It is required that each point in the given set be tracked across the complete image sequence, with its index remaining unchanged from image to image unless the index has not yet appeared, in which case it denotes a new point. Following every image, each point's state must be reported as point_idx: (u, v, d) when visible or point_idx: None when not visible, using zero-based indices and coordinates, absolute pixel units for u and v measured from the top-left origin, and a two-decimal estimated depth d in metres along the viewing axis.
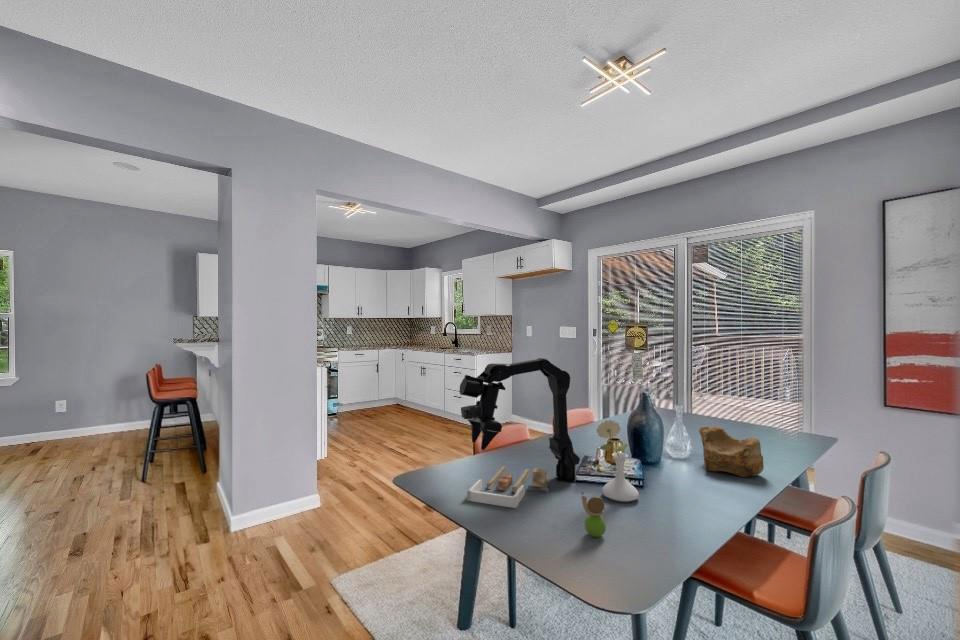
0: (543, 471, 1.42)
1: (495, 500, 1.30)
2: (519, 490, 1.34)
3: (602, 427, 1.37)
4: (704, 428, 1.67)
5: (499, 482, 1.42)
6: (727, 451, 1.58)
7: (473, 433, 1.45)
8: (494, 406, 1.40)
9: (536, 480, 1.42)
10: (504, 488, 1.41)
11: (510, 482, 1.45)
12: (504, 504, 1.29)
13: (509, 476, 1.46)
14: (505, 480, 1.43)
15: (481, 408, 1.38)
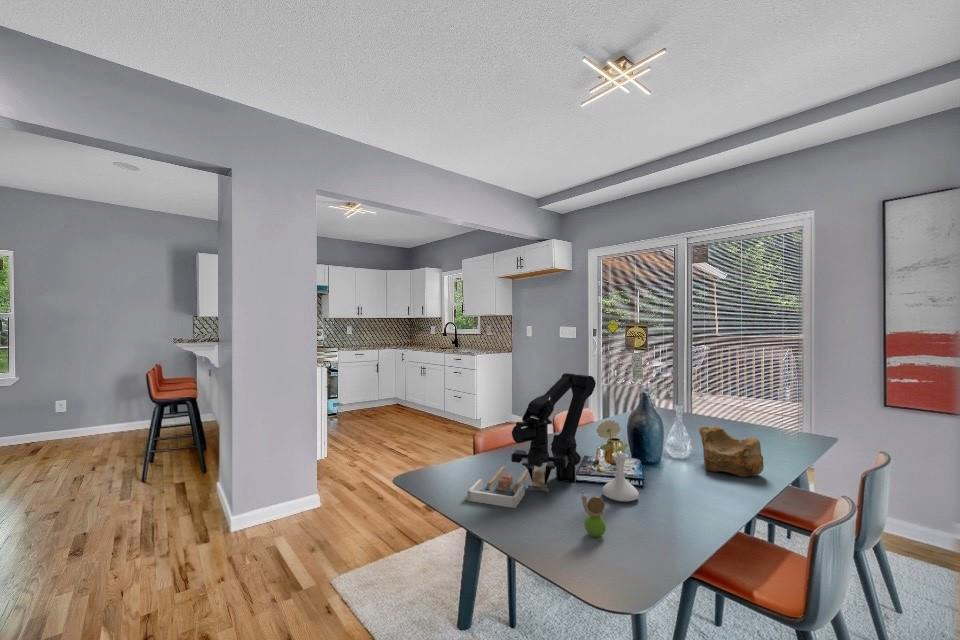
0: (543, 471, 1.42)
1: (495, 500, 1.30)
2: (519, 490, 1.34)
3: (602, 427, 1.37)
4: (704, 428, 1.67)
5: (499, 482, 1.42)
6: (727, 451, 1.58)
7: None
8: None
9: (536, 480, 1.42)
10: (504, 488, 1.41)
11: (510, 482, 1.45)
12: (504, 504, 1.29)
13: (509, 476, 1.46)
14: (505, 480, 1.42)
15: (545, 449, 1.40)
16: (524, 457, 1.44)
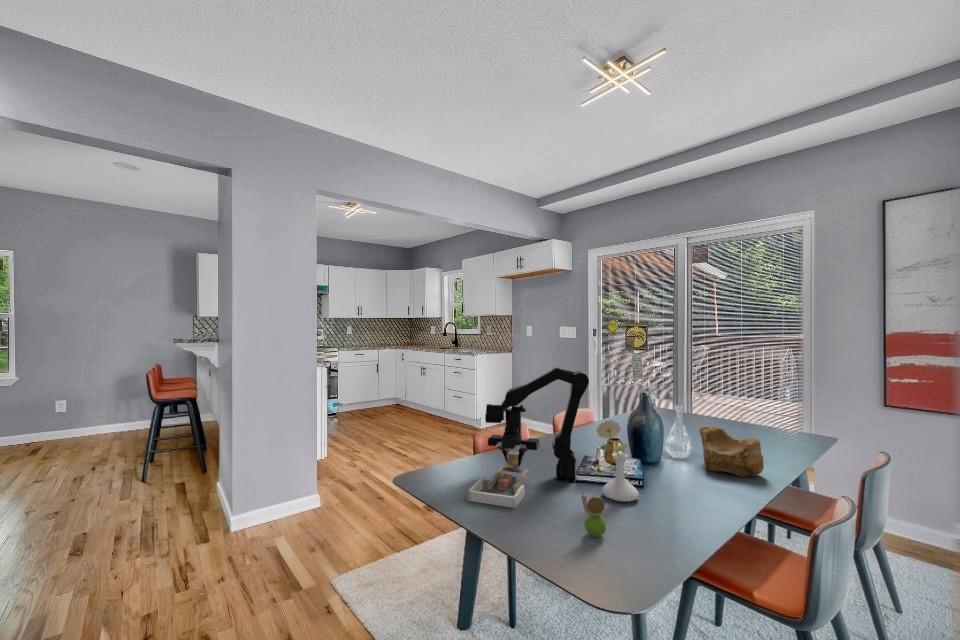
0: (517, 454, 1.53)
1: (495, 500, 1.30)
2: (519, 490, 1.34)
3: (602, 427, 1.37)
4: (704, 428, 1.67)
5: (499, 482, 1.42)
6: (727, 451, 1.58)
7: None
8: (520, 426, 1.55)
9: (510, 462, 1.53)
10: (504, 488, 1.41)
11: (510, 482, 1.45)
12: (504, 504, 1.29)
13: (509, 476, 1.46)
14: (505, 480, 1.42)
15: (518, 433, 1.51)
16: (499, 441, 1.55)
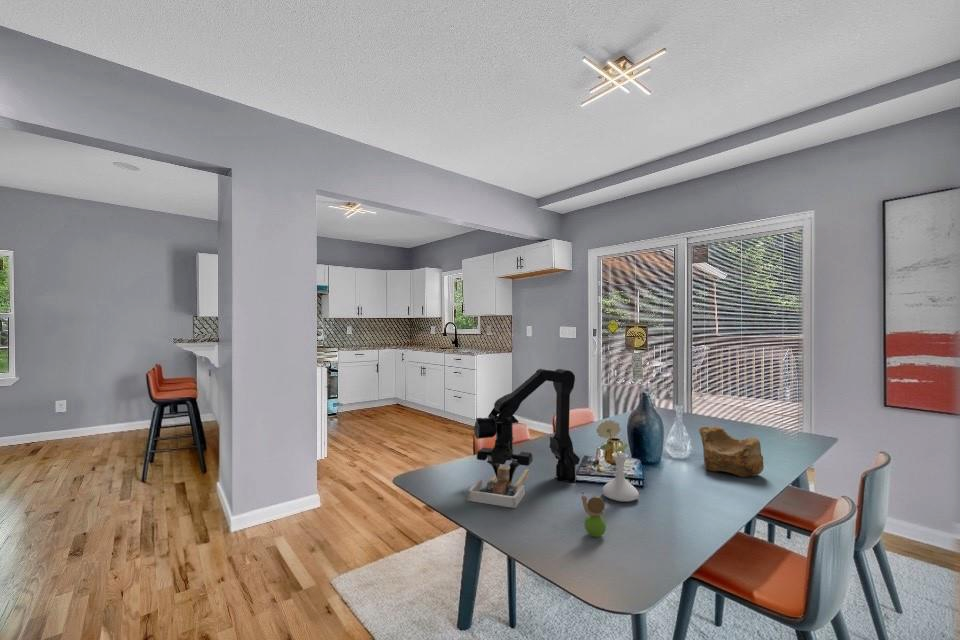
0: (508, 468, 1.43)
1: (495, 500, 1.30)
2: (519, 490, 1.34)
3: (602, 427, 1.37)
4: (704, 428, 1.67)
5: (494, 488, 1.37)
6: (727, 451, 1.58)
7: None
8: None
9: (500, 477, 1.43)
10: (499, 494, 1.36)
11: (504, 489, 1.39)
12: (504, 504, 1.29)
13: (503, 482, 1.40)
14: (500, 486, 1.37)
15: (509, 447, 1.41)
16: (489, 455, 1.45)
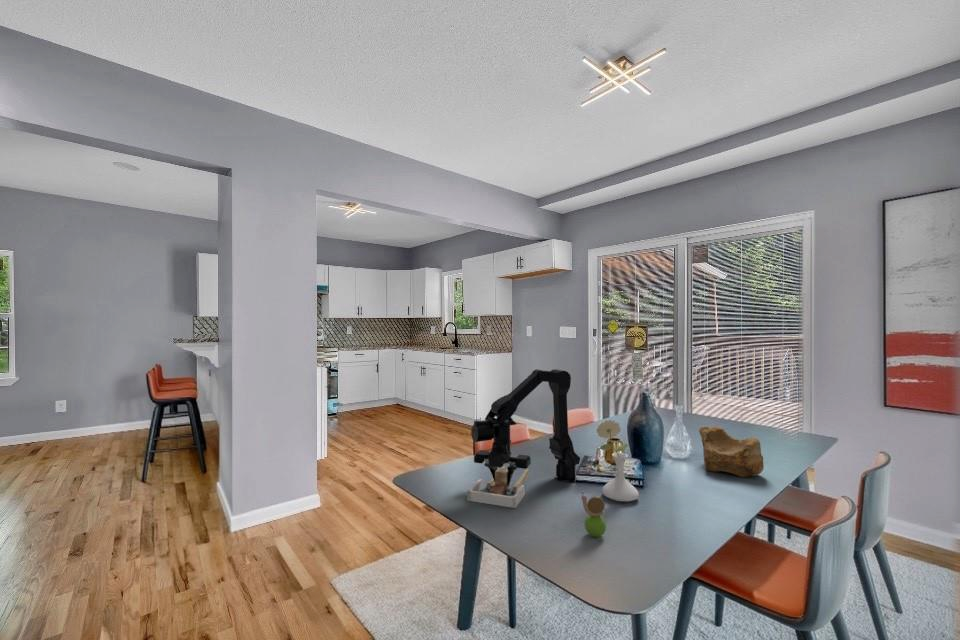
0: (506, 471, 1.41)
1: (495, 500, 1.30)
2: (519, 490, 1.34)
3: (602, 427, 1.37)
4: (704, 428, 1.67)
5: (491, 492, 1.34)
6: (727, 451, 1.58)
7: None
8: (510, 441, 1.42)
9: (498, 480, 1.40)
10: None
11: (502, 492, 1.36)
12: (504, 504, 1.29)
13: (501, 486, 1.37)
14: (497, 489, 1.34)
15: (506, 449, 1.38)
16: (487, 458, 1.42)
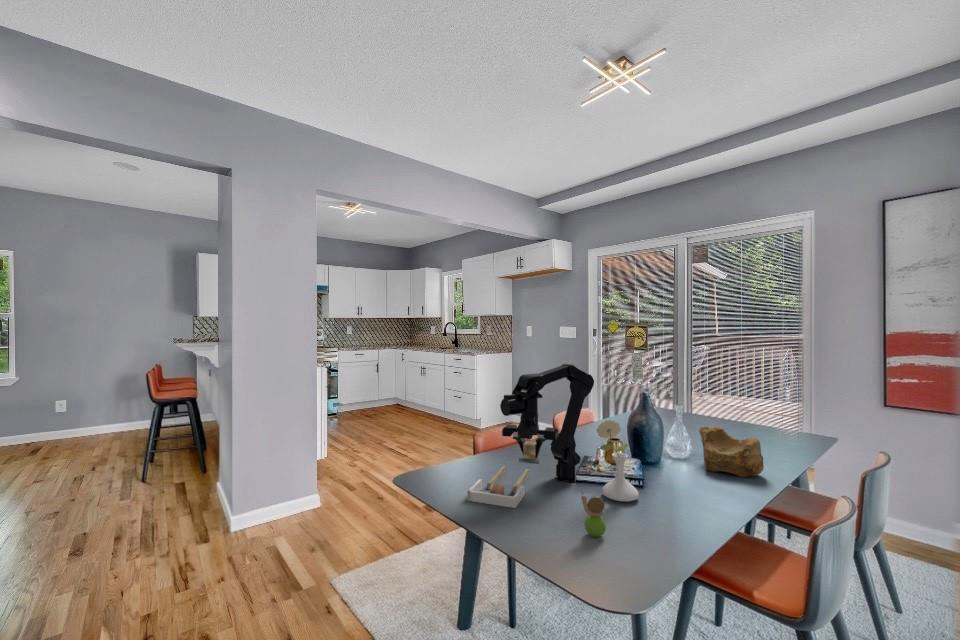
0: (534, 443, 1.43)
1: (495, 500, 1.30)
2: (519, 490, 1.34)
3: (602, 427, 1.37)
4: (704, 428, 1.67)
5: (491, 492, 1.34)
6: (727, 451, 1.58)
7: None
8: None
9: (527, 453, 1.42)
10: None
11: (502, 493, 1.36)
12: (504, 504, 1.29)
13: (501, 486, 1.37)
14: (497, 489, 1.34)
15: (535, 422, 1.40)
16: (515, 431, 1.44)
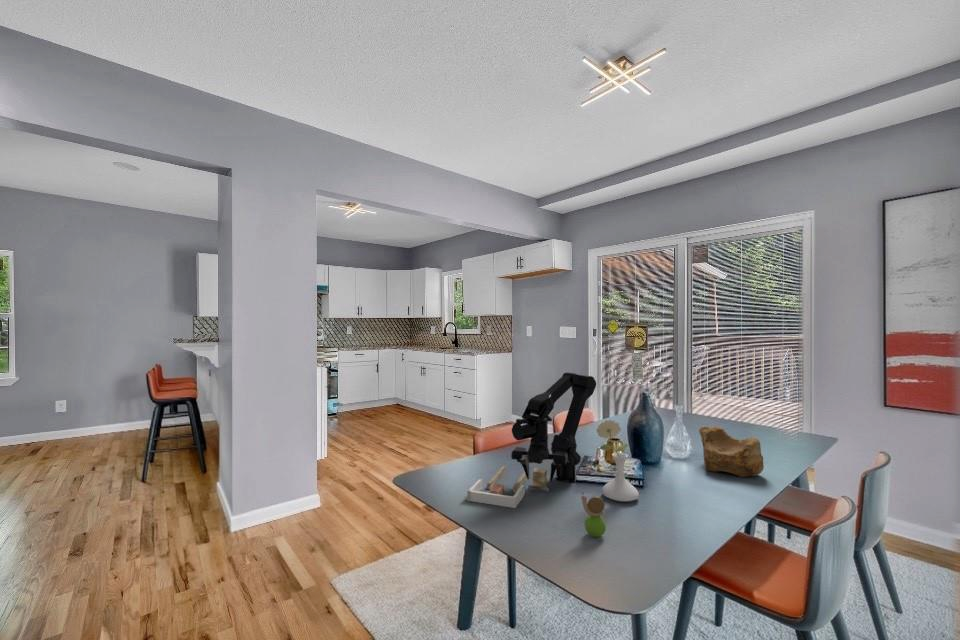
0: (543, 471, 1.43)
1: (495, 500, 1.30)
2: (519, 490, 1.34)
3: (602, 427, 1.37)
4: (704, 428, 1.67)
5: (491, 492, 1.34)
6: (727, 451, 1.58)
7: (527, 471, 1.44)
8: None
9: (536, 480, 1.42)
10: None
11: (502, 493, 1.36)
12: (504, 504, 1.29)
13: (501, 486, 1.37)
14: (497, 490, 1.34)
15: (545, 446, 1.40)
16: (524, 454, 1.44)
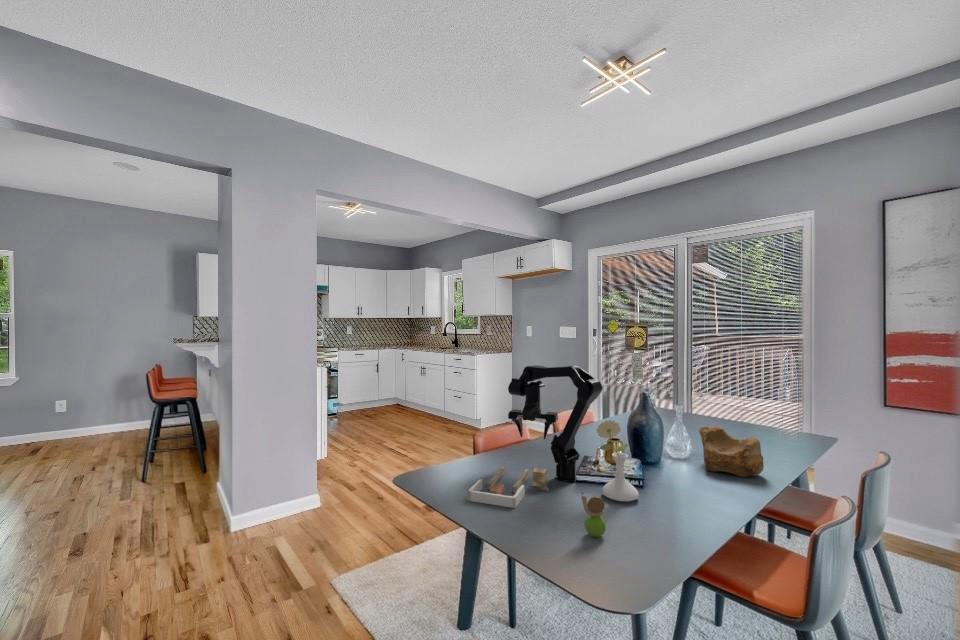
0: (543, 471, 1.43)
1: (495, 500, 1.30)
2: (519, 490, 1.34)
3: (602, 427, 1.37)
4: (704, 428, 1.67)
5: (491, 492, 1.34)
6: (727, 451, 1.58)
7: (521, 429, 1.63)
8: None
9: (536, 480, 1.42)
10: None
11: (502, 493, 1.36)
12: (504, 504, 1.29)
13: (501, 486, 1.37)
14: (497, 490, 1.34)
15: (537, 406, 1.59)
16: (519, 415, 1.63)
